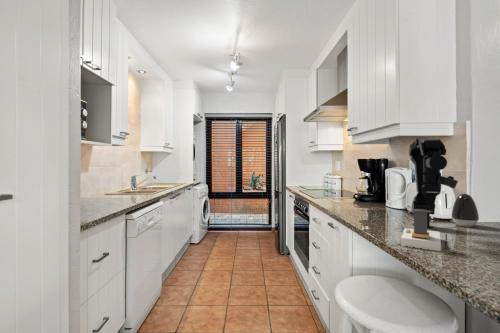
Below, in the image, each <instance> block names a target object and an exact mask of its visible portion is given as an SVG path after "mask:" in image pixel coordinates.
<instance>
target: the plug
mask: <svg viewBox="0 0 500 333" xmlns="http://www.w3.org/2000/svg"><path fill="white" fill-rule="evenodd" d="M413 223H414V225H413V229H414V231H413V232H412V236H414V238H419V239H427V238H429V232H427V231H428V227H427V210H423V209H414V214H413Z"/></svg>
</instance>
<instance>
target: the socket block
mask: <svg viewBox="0 0 500 333" xmlns="http://www.w3.org/2000/svg"><path fill="white" fill-rule="evenodd" d="M413 231H414V228H408V227H407V228H406V227H405V228H404V229H403V231H402V235H401V236H400V238H401V239H400V240H401V241H400V242H401V245H402V246H401V245H400V246H401V247H405V246H408V247H407V248H413V247H415V248H414V249H420V248H422V250H428V249H429V251H434V252H436V251H437V252H441V251H442V241H441V234H440V231H434V230H427V232H429V238H427V239H419V238H414V236H412V232H413Z"/></svg>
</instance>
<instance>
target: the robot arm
mask: <svg viewBox="0 0 500 333" xmlns="http://www.w3.org/2000/svg"><path fill="white" fill-rule="evenodd" d="M446 155H447V148H446V146H445V144H444V142H443V141H442V140H441V139H439V138H437V139H431V138H429V137H416V138H415V140H414V141H413V142H412V143H411V144H410V145H409V147H408V156H409V157H410V162H412V164H413V165H414V172H415V173H414V174H415V184H416V194H415V195H414V196H413V200H412V203H411V207H410V210H411V213H412V214H413V215H414V209H423V210H427V228H434V226H433V225H431V224H430V223H431V222H430V221H431V220H430V215H435V211H436V210H435V209H436V198H437V197H438V196H439V195H440V194H441V192H442V186H447V187H449V188H452V189H455V188H456V187H457V184H458V183H459V181H458V180H456V179H455V178H454V176H451V175H449V176H447V177H446V176H443V175H442V173H441V171H442V170H444V169H445V168H446V167H447V166H448V161H447V159H446V157H445V156H446ZM412 225H413V226H414V222H413V223H412Z"/></svg>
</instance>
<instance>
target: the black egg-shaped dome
mask: <svg viewBox="0 0 500 333" xmlns="http://www.w3.org/2000/svg"><path fill="white" fill-rule="evenodd" d="M479 215H480V214H479V211H478V207H477V205H476V201H475V200H474V199H473V197H472V196H471V195H470V194H468V193H460V194H459V195H458V196H457V197H456V199H455V201H454V203H453V207H452V210H451V218H452V221H453V223H454V224H456V225H457V226H460V227H466V228H469V227H470V228H471V227H474V226H476V225H477V224H478V221H479V220H480V216H479Z"/></svg>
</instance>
